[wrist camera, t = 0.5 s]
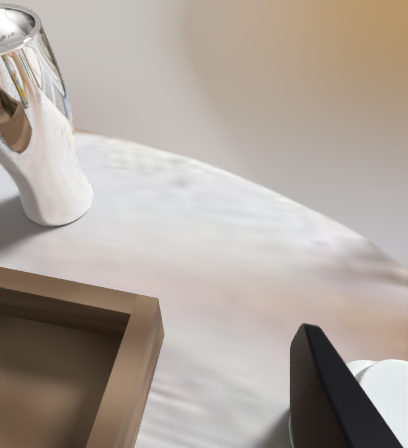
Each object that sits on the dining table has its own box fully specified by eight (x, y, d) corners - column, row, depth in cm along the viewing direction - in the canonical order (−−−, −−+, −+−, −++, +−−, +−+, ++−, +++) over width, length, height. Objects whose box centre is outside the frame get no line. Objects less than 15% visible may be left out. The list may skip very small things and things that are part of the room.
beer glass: (11, 234, 29) (-113, 60, 17) (27, 175, 33) (-64, 1, 21) (96, 228, 30) (32, 57, 18) (101, 171, 34) (53, 0, 22)
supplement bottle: (307, 372, 23) (364, 317, 16) (386, 422, 22) (493, 388, 14) (271, 452, 21) (319, 433, 13) (359, 516, 19) (474, 538, 11)
